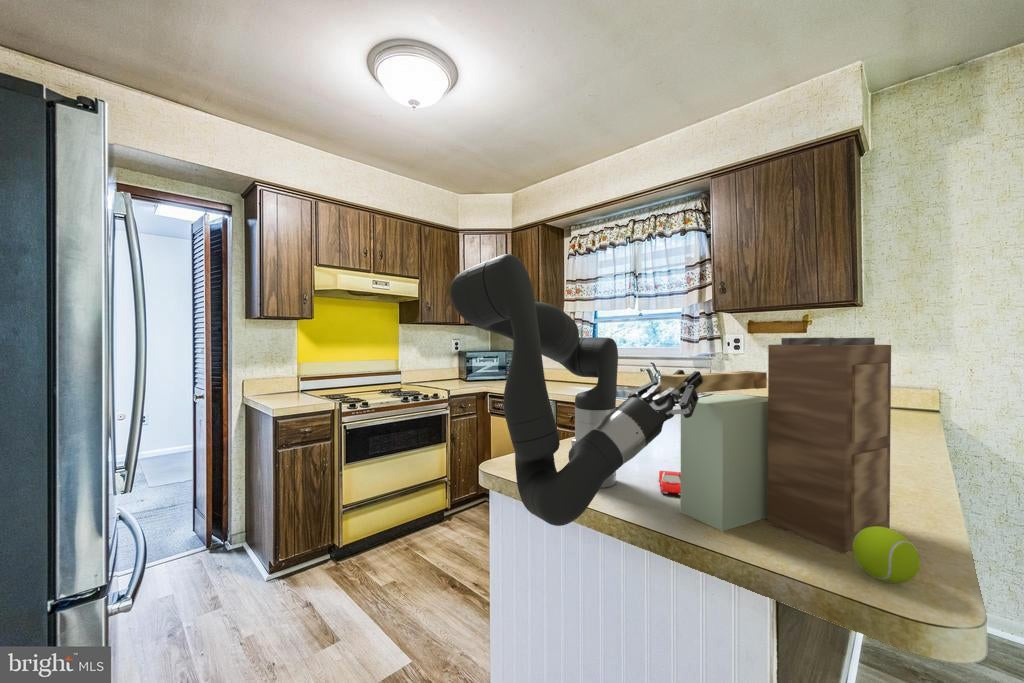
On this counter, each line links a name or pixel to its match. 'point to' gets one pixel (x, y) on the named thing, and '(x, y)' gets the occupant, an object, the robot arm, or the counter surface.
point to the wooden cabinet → (829, 438)
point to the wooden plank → (719, 381)
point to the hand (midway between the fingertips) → (691, 375)
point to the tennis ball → (886, 554)
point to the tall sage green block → (725, 461)
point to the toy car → (670, 483)
